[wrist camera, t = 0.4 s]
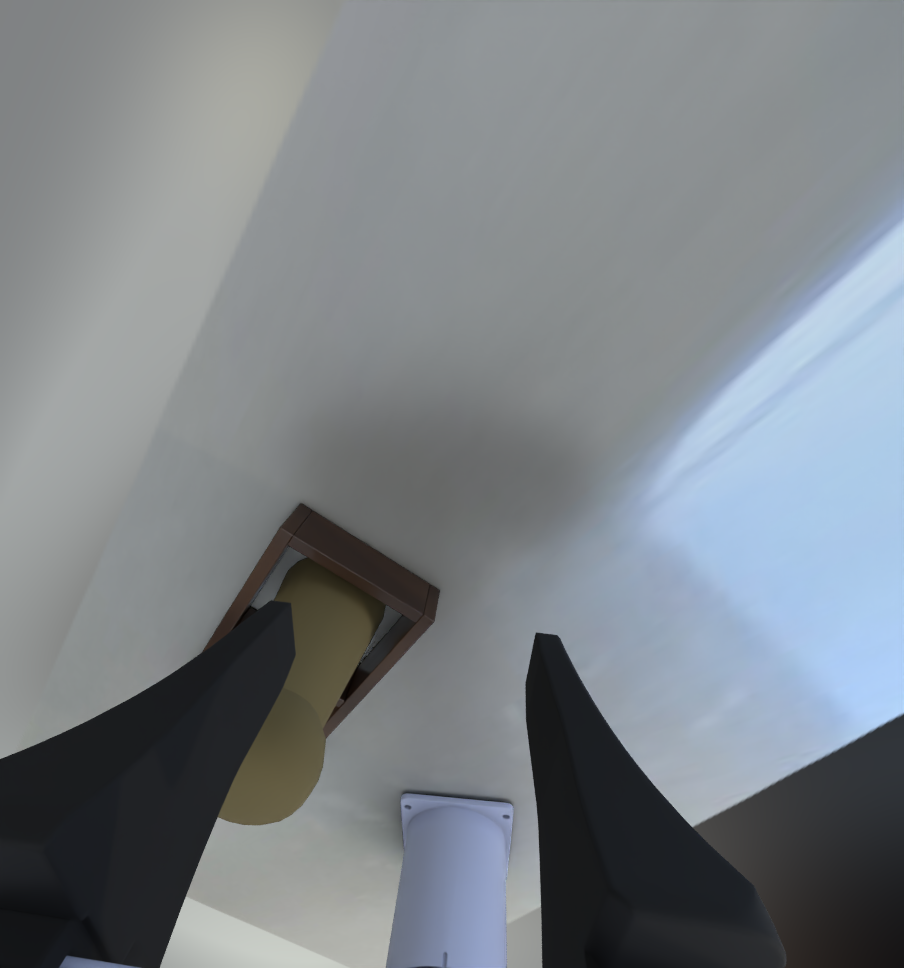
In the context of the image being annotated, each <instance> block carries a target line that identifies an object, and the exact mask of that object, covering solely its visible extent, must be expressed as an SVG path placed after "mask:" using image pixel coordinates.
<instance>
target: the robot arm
mask: <svg viewBox="0 0 904 968" xmlns="http://www.w3.org/2000/svg"><path fill="white" fill-rule="evenodd" d="M295 656H296V650H295V640H294V629H293V618H292V608H291V603H288V602H280V601H272V600H271V601H270V602H268V603H267V604H266V605H264V606H263V607H262V608H260V609H259V610H258V611H256V612H255V613H254V614H253V615H251V616H250V617H249V618H247V619H246V620H245V621H244V622H242V623H241V624H240V625H239V626H237V627H236V628H235V629H233V630H232V631H231V632H229V633H228V634H227V635H226V636H224V637H223V638H222V639H220V640H219V641H218V642H216V643H215V644H214V645H212V646H211V647H210V648H208V649H207V650H205V651H204V652H203V653H201V654H200V655H198V656H197V657H195V658H194V659H193V660H191V661H190V662H188V663H187V664H185V665H184V666H182V667H181V668H180V669H178V670H177V671H175V672H174V673H172V674H171V675H169V676H167V677H166V678H164V679H163V680H161V681H159V682H158V683H156V684H154V685H153V686H151V687H149V688H148V689H146V690H144V691H143V692H141V693H139V694H138V695H136V696H134V697H132V698H131V699H129V700H127V701H125V702H123V703H121V704H119V705H117V706H115V707H114V708H112V709H110V710H108V711H106V712H104V713H102V714H100V715H98V716H96V717H95V718H93V719H91V720H89V721H87V722H85V723H83V724H80V725H78V726H76V727H74V728H72V729H70V730H68V731H66V732H64V733H61V734H59V735H57V736H55V737H52V738H50V739H48V740H46V741H43V742H41V743H39V744H36V745H34V746H32V747H29V748H27V749H25V750H22V751H20V752H17V753H15V754H12V755H10V756H7V757H5V758H2V759H0V968H160V965H161V962H162V959H163V956H164V954H165V951H166V948H167V945H168V943H169V940H170V937H171V935H172V932H173V929H174V926H175V923H176V921H177V918H178V915H179V913H180V910H181V907H182V905H183V902H184V899H185V897H186V894H187V892H188V889H189V887H190V884H191V881H192V879H193V876H194V874H195V871H196V869H197V866H198V863H199V861H200V858H201V856H202V853H203V851H204V849H205V846H206V844H207V841H208V839H209V836H210V834H211V832H212V829H213V827H214V824H215V822H216V819H217V817H218V815H219V812H220V810H221V808H222V806H223V803H224V801H225V799H226V796H227V794H228V792H229V789H230V787H231V785H232V783H233V780H234V778H235V776H236V774H237V772H238V770H239V768H240V766H241V764H242V762H243V760H244V759H245V757H246V755H247V753H248V751H249V749H250V748H251V746H252V744H253V742H254V740H255V738H256V737H257V735H258V733H259V731H260V729H261V727H262V726H263V724H264V722H265V720H266V718H267V716H268V715H269V713H270V711H271V709H272V707H273V705H274V704H275V702H276V700H277V698H278V696H279V694H280V692H281V690H282V688H283V686H284V684H285V681H286V679H287V676H288V674H289V671H290V669H291V666H292V664H293V661H294V658H295ZM526 723H527V731H528V739H529V748H530V756H531V764H532V771H533V779H534V787H535V795H536V803H537V814H538V828H539V853H540V882H541V914H542V964H543V965H542V967H543V968H785V965H786V952H785V950H784V948H783V946H782V943H781V941H780V938H779V936H778V933H777V931H776V929H775V926H774V924H773V922H772V920H771V918H770V916H769V914H768V912H767V910H766V908H765V906H764V904H763V902H762V901H761V899H760V897H759V895H758V893H757V891H756V889H755V887H754V885H752V884H751V883H750V882H749V881H748V880H747V879H746V878H745V877H744V876H743V875H742V874H741V873H739V872H738V871H737V870H736V869H735V868H734V867H733V866H732V865H731V864H730V863H729V862H728V861H726V860H725V859H724V858H723V857H722V856H721V855H720V854H719V853H718V852H717V851H716V850H715V849H713V848H712V847H711V846H710V845H709V844H708V843H707V842H706V841H705V840H704V839H703V838H702V837H701V836H700V835H699V834H698V833H697V832H696V831H695V830H694V829H693V828H692V827H691V826H690V825H689V824H688V822H687V821H686V820H685V819H684V818H683V817H682V816H681V815H680V814H679V813H678V812H677V811H676V809H675V808H674V807H673V806H672V805H671V804H670V803H669V802H668V800H667V799H666V798H665V797H664V796H663V795H662V794H661V793H660V792H659V790H658V789H657V788H656V787H655V786H654V785H653V784H652V782H651V781H650V780H649V779H648V777H647V776H646V775H645V774H644V772H643V771H642V770H641V769H640V767H639V766H638V765H637V764H636V762H635V761H634V760H633V758H632V757H631V756H630V755H629V753H628V752H627V751H626V749H625V748H624V747H623V745H622V744H621V742H620V741H619V740H618V738H617V737H616V735H615V734H614V732H613V731H612V729H611V728H610V726H609V725H608V723H607V722H606V720H605V719H604V717H603V716H602V714H601V713H600V711H599V710H598V708H597V706H596V705H595V703H594V701H593V700H592V698H591V696H590V695H589V693H588V691H587V690H586V688H585V686H584V684H583V683H582V681H581V679H580V677H579V675H578V674H577V672H576V670H575V668H574V666H573V664H572V662H571V660H570V658H569V656H568V654H567V652H566V650H565V648H564V646H563V644H562V642H561V639H560V638H559V637H558V636H557V635H551V634H543V633H536V634H535V639H534V644H533V649H532V654H531V659H530V664H529V669H528V674H527V679H526ZM400 802H401V816H402V830H403V844H404V857H403V863H402V869H401V875H400V882H399V888H398V894H397V900H396V907H395V913H394V919H393V925H392V932H391V938H390V944H389V950H388V957H387V963H386V968H507V944H506V943H507V942H506V880H507V873H508V862H509V852H510V842H511V832H512V822H513V806H512V805H511V804H509V803H504V802H494V801H483V800H473V799H462V798H452V797H441V796H431V795H420V794H410V793H405V794H403V795H402V796H401V801H400Z"/></svg>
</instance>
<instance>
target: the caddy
mask: <svg viewBox="0 0 904 968" xmlns="http://www.w3.org/2000/svg"><path fill="white" fill-rule="evenodd" d="M289 546H290V547H291V548H293V549H295V550H296V551H298V552H300V553H301V554H303V555H305V556H306V557H308V558H310V559H311V560H313V561H315V562H316V563H318V564H320V565H321V566H323V567H325V568H326V569H328V570H330V571H331V572H333V573H335V574H336V575H338V576H339V577H341V578H343V579H344V580H346V581H348V582H349V583H351V584H353V585H354V586H356V587H358V588H359V589H361V590H363V591H364V592H366V593H368V594H369V595H371V596H373V597H374V598H376V599H378V600H379V601H381V602H383V603H384V604H386V605H387V606H389V607H391V608H392V609H394V610H396V611H397V612H399V613H401V614H402V615H403V616H402V617H401V618H400V619H399V620H398V622H397V623H396V624H395V625H394V626H393V627H392V628H391V630H390V631H389V632H388V633H387V634H386V635H385V636H384V638H383V639H382V640H381V641H380V642H379V643H378V644H377V646H376V647H375V648H374V649H373V650H372V651H371V652H370V654H369V655H368V656H367V657H366V658H365V659H364V660H363V662H362V663H361V664H360V665H359V666H358V667H357V668H356V669H355V671H354V672H353V674H352V676H351V678H350V680H349V682H348V684H347V685H346V687H345V689H344V691H343V693H342V695H341V696H340V698H339V700H338V702H337V704H336V706H335V708H334V709H333V711H332V713H331V715H330V717H329V719H328V720H327V722H326V724H325V726H324V728H323V731H324V735H325V738H327V737H328V736H329V735H330V734H331V733H332V731H333V730H334V729H335V728H336V727H337V726H338V725H339V724H340V723H341V722H342V721H343V720H344V719H345V717H346V716H347V715H348V714H349V713H350V712H351V711H352V710H353V709H354V708H355V707H356V706H357V705H358V703H359V702H360V701H361V700H362V699H363V698H364V697H365V696H366V695H367V694H368V693H369V692H370V690H371V689H372V688H373V687H374V686H375V685H376V684H377V683H378V682H379V681H380V680H381V679H382V678H383V676H384V675H385V674H386V673H387V672H388V671H389V670H390V669H391V668H392V667H393V666H394V665H395V664H396V662H397V661H398V660H399V659H400V658H401V657H402V656H403V655H404V654H405V653H406V652H407V651H408V650H409V648H410V647H411V646H412V645H413V644H414V643H415V642H416V641H417V640H418V639H419V638H420V637H421V635H422V634H423V633H424V632H425V631H426V630H427V629H428V628H429V627H430V626H431V625H432V624H433V623H434V621H435V616H436V610H437V604H438V599H439V593H440V590H438V589H437V588H435V587H433V586H432V585H429V583H427V582H426V581H424V580H422V579H421V578H419V577H418V576H416V575H414V574H413V573H411V572H410V571H408V570H406V569H405V568H403V567H402V566H400V565H399V564H397V563H395V562H394V561H392V560H391V559H389V558H387V557H386V556H384V555H383V554H381V553H379V552H378V551H376V550H375V549H373V548H371V547H370V546H368V545H367V544H365V543H363V542H362V541H360V540H359V539H357V538H355V537H354V536H352V535H351V534H349V533H347V532H346V531H344V530H343V529H341V528H339V527H338V526H336V525H335V524H333V523H331V522H330V521H328V520H327V519H325V518H323V517H322V516H320V515H319V514H317V513H315V512H314V511H312V510H311V509H309V508H308V507H306V506H304V505H303V504H300V505H299V506H298V507H297V508H296V509H295V510H294V512H293V513H292V514H291V515H290V516H289V518H288V519H287V520H286V521H285V522H284V523H283V525H282V526H281V527H280V528H279V530H278V531H277V533H276V535H275V536H274V538H273V539H272V541H271V543H270V544H269V546H268V547H267V549H266V551H265V552H264V554H263V555H262V557H261V559H260V560H259V562H258V563H257V565H256V567H255V568H254V570H253V571H252V573H251V575H250V576H249V578H248V579H247V581H246V583H245V584H244V586H243V587H242V589H241V591H240V592H239V594H238V595H237V597H236V599H235V600H234V602H233V603H232V605H231V607H230V608H229V610H228V611H227V613H226V615H225V616H224V618H223V619H222V621H221V623H220V624H219V626H218V627H217V629H216V631H215V632H214V634H213V635H212V637H211V639H210V640H209V642H208V643H207V645H206V647H205V648H204V650H203V651H202V653H203V652H204V651H205V650H207V649H208V648H210V647H211V646H212V645H214V644H215V643H216V642H218V641H219V640H220V639H222V638H223V637H224V636H226V635H227V634H228V633H229V632H231V631H232V630H233V629H235V628H236V627H237V626H239V625H240V624H241V623H242V622H244V621H245V620H246V619H247V618H249V617H250V616H251V615H253V614H254V613H255V612H256V610H254V609H252V608H249V607H250V605H251V604H252V602H253V601H254V599H255V598H256V596H257V595H258V593H259V592H260V590H261V589H262V587H263V585H264V584H265V582H266V581H267V579H268V578H269V576H270V575H271V573H272V572H273V570H274V569H275V567H276V566H277V564H278V562H279V561H280V559H281V558H282V556H283V555H284V553H285V552H286V550H287V549H288V547H289Z"/></svg>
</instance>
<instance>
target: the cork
mask: <svg viewBox="0 0 904 968" xmlns="http://www.w3.org/2000/svg"><path fill="white" fill-rule="evenodd" d="M274 601H280V602H288V603H291V608H292V618H293V629H294V640H295V650H296V656H295V658H294V661H293V664H292V666H291V669H290V671H289V674H288V676H287V679H286V681H285V684H284V686H283V688H282V690H281V692H280V694H279V696H278V698H277V700H276V702H275V704H274V705H273V707H272V709H271V711H270V713H269V715H268V716H267V718H266V720H265V722H264V724H263V726H262V727H261V729H260V731H259V733H258V735H257V737H256V738H255V740H254V742H253V744H252V746H251V748H250V749H249V751H248V753H247V755H246V757H245V759H244V760H243V762H242V764H241V766H240V768H239V770H238V772H237V774H236V776H235V778H234V780H233V783H232V785H231V787H230V789H229V792H228V794H227V796H226V799H225V801H224V803H223V806H222V808H221V810H220V812H219V815H218V817H219V818H221V819H224V820H226V821H229V822H233V823H238V824H242V825H264V824H269V823H274V822H279V821H281V820H283V819H285V818H287V817H288V816H290V815H292V814H293V813H294V812H295V811H296V810H297V809H298V808H299V807H301V806H302V805H303V803H304V802H305V800H306V799H307V798H308V796H309V795H310V793H311V792H312V790H313V789H314V787H315V785H316V784H317V782H318V780H319V777H320V774H321V771H322V768H323V762H324V753H325V743H326V738H325V735H324V731H323V728H324V726H325V724H326V722H327V720H328V719H329V717H330V715H331V713H332V711H333V709H334V708H335V706H336V704H337V702H338V700H339V698H340V696H341V695H342V693H343V691H344V689H345V687H346V685H347V684H348V682H349V680H350V678H351V676H352V674H353V672H354V671H355V669H356V667H357V665H358V663H359V661H360V660H361V658H362V656H363V654H364V652H365V650H366V648H367V647H368V645H369V643H370V641H371V639H372V637H373V636H374V634H375V632H376V630H377V628H378V626H379V624H380V623H381V621H382V619H383V617H384V611H385V606H386V604H384V603H383V602H381V601H379V600H378V599H376V598H374V597H373V596H371V595H369V594H368V593H366V592H364V591H363V590H361V589H359V588H358V587H356V586H354V585H353V584H351V583H349V582H348V581H346V580H344V579H343V578H341V577H339V576H338V575H336V574H335V573H333V572H331V571H330V570H328V569H326V568H325V567H323V566H321V565H320V564H318V563H316V562H315V561H313V560H311V559H310V558H306V559H303V560H301V561H298V562H297V563H296V564H295V565H294V566H293V567H291V568H290V569H289V570H288V572H287V574H286V576H285V578H284V580H283V582H282V584H281V586H280V589H279V591H278V593H277V595H276V597H275V599H274Z"/></svg>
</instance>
